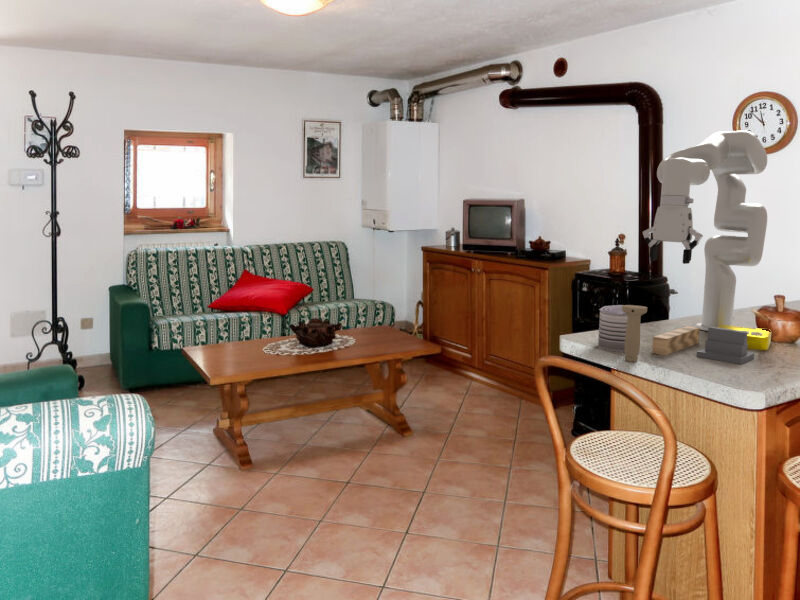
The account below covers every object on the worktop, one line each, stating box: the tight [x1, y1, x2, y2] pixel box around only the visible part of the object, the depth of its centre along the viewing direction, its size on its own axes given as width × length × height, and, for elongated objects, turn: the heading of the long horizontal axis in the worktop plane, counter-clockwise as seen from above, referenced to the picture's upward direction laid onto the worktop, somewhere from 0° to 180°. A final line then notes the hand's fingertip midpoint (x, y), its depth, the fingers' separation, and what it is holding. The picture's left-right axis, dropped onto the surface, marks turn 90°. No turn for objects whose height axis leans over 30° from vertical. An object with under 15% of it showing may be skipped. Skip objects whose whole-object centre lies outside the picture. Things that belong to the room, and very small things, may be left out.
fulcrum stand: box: [696, 327, 755, 365], centre depth 200 cm, size 10×12×8 cm
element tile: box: [718, 325, 772, 351], centre depth 220 cm, size 15×15×5 cm
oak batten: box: [651, 325, 700, 356], centre depth 212 cm, size 24×4×5 cm, turn 136°
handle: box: [622, 304, 648, 363], centre depth 194 cm, size 5×6×15 cm
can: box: [597, 304, 628, 353], centre depth 211 cm, size 11×11×12 cm
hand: (669, 262), depth 206 cm, fingers open, 9 cm apart
